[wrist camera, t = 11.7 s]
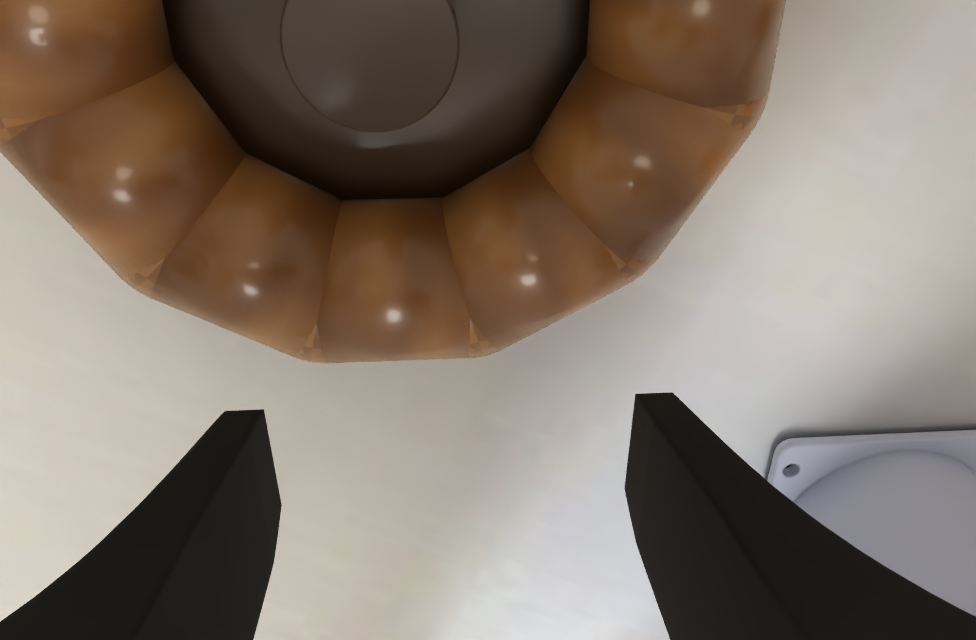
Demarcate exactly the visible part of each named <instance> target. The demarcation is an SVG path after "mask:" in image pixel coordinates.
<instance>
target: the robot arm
mask: <svg viewBox="0 0 976 640" xmlns="http://www.w3.org/2000/svg"><path fill="white" fill-rule="evenodd" d="M790 464H793V465H792V466H790V467H789V468H785V467H786V466H788V465H790ZM784 468H785V469H784ZM625 492H626V497H627V502H628V507H629V512H630V517H631V521H632V526H633V530H634V534H635V539H636V543H637V546H638V549H639V552H640V555H641V558H642V561H643V564H644V567H645V569H646V572H647V575H648V578H649V581H650V584H651V587H652V589H653V592H654V595H655V598H656V601H657V603H658V606H659V609H660V612H661V615H662V617H663V620H664V623H665V626H666V629H667V631H668V634H669V637H670V640H976V430H958V431H936V432H914V433H892V434H870V435H849V436H827V437H805V438H791V439H786V440H784V441H782V442H781V443H780V444H779V445H778V446H777V447H776V449H775V451H774V454H773V459H772V463H771V467H770V471H769V475H768V480H766V479H764V478H763V477H762V476H761V475H760V474H759V473H757V472H756V471H755V470H754V469H753V468H752V467H751V466H749V465H748V464H747V463H746V462H745V461H744V460H743V459H742V458H741V457H739V456H738V455H737V454H736V453H735V452H734V451H733V450H732V449H731V448H730V447H729V446H727V445H726V444H725V443H724V442H723V441H722V440H721V439H720V438H719V437H718V436H717V435H716V434H715V433H714V432H713V431H712V430H711V429H710V428H709V427H708V426H707V425H705V424H704V423H703V422H702V421H701V420H700V419H699V418H698V417H697V416H696V415H695V414H694V413H693V412H692V411H691V410H690V409H689V408H688V407H687V406H686V405H685V404H684V403H683V402H682V401H681V400H680V399H679V398H678V397H677V396H676V395H674V394H673V393H649V394H636V395H635V404H634V412H633V421H632V430H631V438H630V447H629V455H628V464H627V473H626V481H625ZM280 512H281V500H280V495H279V489H278V484H277V479H276V473H275V468H274V462H273V457H272V451H271V446H270V441H269V435H268V430H267V424H266V419H265V414H264V410H241V411H225V412H224V413H223V414H222V415H221V416H220V417H219V418H218V419H217V420H216V421H215V422H214V423H213V424H212V426H211V427H210V428H209V429H208V430H207V431H206V432H205V433H204V435H203V436H202V437H201V438H200V439H199V440H198V441H197V442H196V444H195V445H194V446H193V447H192V448H191V449H190V450H189V451H188V453H187V454H186V455H185V456H184V457H183V458H182V459H181V460H180V461H179V463H178V464H177V465H176V466H175V467H174V468H173V469H172V470H171V471H170V472H169V473H168V475H167V476H166V477H165V478H164V479H163V480H162V481H161V482H160V483H159V484H158V485H157V486H156V487H155V488H154V489H153V490H152V491H151V493H150V494H149V495H148V496H147V497H146V498H145V499H144V500H143V501H142V502H141V503H140V504H139V505H138V506H137V507H136V508H135V509H134V510H133V511H132V512H131V513H130V514H129V515H128V516H127V517H126V518H125V519H124V520H123V521H122V522H121V523H120V524H119V525H117V526H116V527H115V528H114V529H113V530H112V531H111V532H110V533H109V534H108V535H107V536H106V537H105V538H104V539H103V540H102V541H101V542H100V543H99V544H98V545H97V546H95V547H94V548H93V549H92V550H91V551H90V552H89V553H88V554H86V555H85V556H84V557H83V558H82V559H81V560H80V561H78V562H77V563H76V564H75V565H74V566H72V567H71V568H70V569H69V570H68V571H66V572H65V573H64V574H63V575H61V576H60V577H59V578H58V579H57V580H55V581H54V582H53V583H52V584H50V585H49V586H48V587H47V588H45V589H44V590H43V591H42V592H40V593H39V594H38V595H36V596H35V597H34V598H33V599H31V600H30V601H28V602H27V603H26V604H24V605H23V606H22V607H20V608H19V609H17V610H16V611H15V612H13V613H12V614H10V615H9V616H8V617H6V618H5V619H3V620H2V621H1V622H0V640H253V638H254V635H255V631H256V627H257V624H258V620H259V616H260V613H261V609H262V605H263V601H264V598H265V594H266V590H267V586H268V582H269V579H270V575H271V571H272V567H273V563H274V557H275V550H276V543H277V536H278V528H279V520H280Z"/></svg>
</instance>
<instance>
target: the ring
mask: <svg viewBox="0 0 976 640" xmlns="http://www.w3.org/2000/svg"><path fill="white" fill-rule="evenodd" d="M785 2H786V0H590V8H589V24H588V40H587V55H586V57H585V59H584V60H583V62H582V64H581V65H580V67H579V69H578V70H577V72H576V73H575V75H574V77H573V78H572V80H571V82H570V83H569V85H568V87H567V88H566V90H565V91H564V93H563V95H562V96H561V98H560V100H559V101H558V103H557V105H556V106H555V108H554V109H553V111H552V113H551V114H550V116H549V118H548V119H547V121H546V123H545V124H544V126H543V127H542V129H541V131H540V132H539V134H538V136H537V137H536V139H535V141H534V142H533V144H532V145H531V147H530V148H528V149H527V150H525V151H523V152H522V153H520V154H518V155H516V156H515V157H513V158H511V159H509V160H508V161H506V162H504V163H502V164H501V165H499V166H497V167H496V168H494V169H492V170H490V171H489V172H487V173H485V174H483V175H482V176H480V177H478V178H476V179H475V180H473V181H471V182H470V183H468V184H466V185H464V186H463V187H461V188H459V189H457V190H456V191H454V192H452V193H450V194H449V195H447V196H445V197H440V198H399V199H358V200H342V199H340V198H338V197H336V196H334V195H332V194H329V193H327V192H325V191H323V190H321V189H319V188H317V187H315V186H313V185H311V184H309V183H307V182H305V181H303V180H301V179H299V178H297V177H295V176H293V175H290V174H288V173H286V172H284V171H282V170H280V169H278V168H276V167H274V166H272V165H270V164H268V163H266V162H264V161H262V160H260V159H258V158H256V157H254V156H251V155H249V154H247V153H246V152H245V151H244V150H243V149H242V147H241V146H240V145H239V143H238V142H237V141H236V139H235V138H234V137H233V136H232V134H231V133H230V132H229V130H228V129H227V128H226V127H225V125H224V124H223V123H222V121H221V120H220V119H219V118H218V116H217V115H216V114H215V112H214V111H213V110H212V109H211V107H210V106H209V105H208V103H207V102H206V101H205V100H204V98H203V97H202V96H201V94H200V93H199V92H198V91H197V89H196V88H195V87H194V85H193V84H192V83H191V82H190V80H189V79H188V78H187V76H186V75H185V74H184V73H183V71H182V70H181V69H180V67H179V66H178V65H177V64H176V62H175V61H174V58H173V53H172V48H171V43H170V38H169V33H168V28H167V23H166V18H165V13H164V8H163V3H162V0H0V152H1V153H2V154H3V155H4V156H5V157H6V158H7V159H8V160H9V161H10V163H11V164H12V165H13V166H14V167H15V168H16V169H17V170H18V171H19V172H20V173H21V174H22V175H23V176H24V177H25V178H26V179H27V180H28V181H29V182H30V183H31V185H32V186H33V187H34V188H35V189H36V190H37V191H38V192H39V193H40V194H41V195H42V196H43V197H44V198H45V199H46V200H47V201H48V202H49V203H50V204H51V205H52V207H53V208H54V209H55V210H56V211H57V212H58V213H59V214H60V215H61V216H62V217H63V218H64V219H65V220H66V221H67V222H68V223H69V224H70V225H71V226H72V228H73V229H74V230H75V231H76V232H77V233H78V234H79V235H80V236H81V237H82V238H83V239H84V240H85V241H86V242H87V243H88V244H89V245H90V246H91V247H92V248H93V250H94V251H95V252H96V253H97V254H98V255H99V256H100V257H101V258H102V259H103V260H104V261H105V262H106V263H107V264H108V265H109V266H110V267H111V268H112V269H113V270H114V272H115V273H116V274H117V275H118V276H119V277H120V278H121V279H122V280H124V281H125V282H126V283H127V284H129V285H130V286H131V287H132V288H134V289H135V290H136V291H138V292H140V293H142V294H144V295H146V296H148V297H150V298H152V299H154V300H157V301H159V302H162V303H164V304H167V305H169V306H171V307H174V308H176V309H179V310H181V311H184V312H186V313H188V314H191V315H193V316H196V317H198V318H201V319H203V320H205V321H208V322H210V323H213V324H215V325H218V326H220V327H222V328H225V329H227V330H230V331H232V332H235V333H237V334H239V335H242V336H244V337H247V338H249V339H252V340H254V341H256V342H259V343H261V344H264V345H266V346H268V347H271V348H273V349H276V350H278V351H281V352H283V353H285V354H288V355H290V356H293V357H295V358H298V359H302V360H305V361H309V362H317V363H344V362H372V361H399V360H427V359H454V358H475V357H481V356H486V355H490V354H492V353H495V352H498V351H500V350H502V349H504V348H506V347H508V346H510V345H512V344H514V343H516V342H518V341H520V340H522V339H523V338H525V337H527V336H529V335H531V334H533V333H535V332H537V331H539V330H541V329H543V328H545V327H547V326H548V325H550V324H552V323H554V322H556V321H558V320H560V319H562V318H564V317H566V316H568V315H570V314H572V313H573V312H575V311H577V310H579V309H581V308H583V307H585V306H587V305H589V304H591V303H593V302H595V301H596V300H598V299H600V298H602V297H604V296H606V295H608V294H610V293H612V292H614V291H616V290H618V289H620V288H621V287H623V286H625V285H627V284H629V283H631V282H633V281H634V280H635V279H637V278H638V277H640V276H641V275H643V274H644V273H645V272H646V271H647V270H648V269H649V268H650V267H651V266H652V265H653V264H654V263H655V261H656V260H657V259H658V258H659V256H660V255H661V254H662V252H663V251H664V250H665V248H666V247H667V246H668V244H669V243H670V242H671V240H672V239H673V238H674V236H675V235H676V233H677V232H678V231H679V229H680V228H681V227H682V225H683V224H684V223H685V221H686V220H687V219H688V217H689V216H690V215H691V213H692V212H693V211H694V209H695V208H696V206H697V205H698V204H699V202H700V201H701V200H702V198H703V197H704V196H705V194H706V193H707V192H708V190H709V189H710V188H711V186H712V185H713V184H714V182H715V181H716V179H717V178H718V177H719V175H720V174H721V173H722V171H723V170H724V169H725V167H726V166H727V165H728V163H729V162H730V161H731V159H732V158H733V157H734V155H735V154H736V152H737V151H738V150H739V148H740V147H741V146H742V144H743V143H744V142H745V140H746V139H747V138H748V136H749V135H750V134H751V132H752V130H753V129H754V127H755V125H756V123H757V122H758V120H759V118H760V117H761V114H762V112H763V110H764V107H765V104H766V101H767V98H768V93H769V90H770V84H771V79H772V73H773V68H774V62H775V57H776V51H777V46H778V40H779V35H780V29H781V24H782V18H783V13H784V7H785Z"/></svg>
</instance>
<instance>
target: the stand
mask: <svg viewBox="0 0 976 640" xmlns="http://www.w3.org/2000/svg"><path fill="white" fill-rule="evenodd" d="M162 3H163V8H164V13H165V18H166V23H167V28H168V33H169V38H170V43H171V48H172V53H173V58H174V61H175V62H176V64H177V65H178V66H179V67H180V69H181V70H182V71H183V73H184V74H185V75H186V76H187V78H188V79H189V80H190V82H191V83H192V84H193V85H194V87H195V88H196V89H197V91H198V92H199V93H200V94H201V96H202V97H203V98H204V100H205V101H206V102H207V103H208V105H209V106H210V107H211V109H212V110H213V111H214V112H215V114H216V115H217V116H218V118H219V119H220V120H221V121H222V123H223V124H224V125H225V127H226V128H227V129H228V130H229V132H230V133H231V134H232V136H233V137H234V138H235V139H236V141H237V142H238V143H239V145H240V146H241V147H242V149H243V150H244V151H245V152H246V153H247V154H249V155H251V156H254V157H256V158H258V159H260V160H262V161H264V162H266V163H268V164H270V165H272V166H274V167H276V168H278V169H280V170H282V171H284V172H286V173H288V174H290V175H293V176H295V177H297V178H299V179H301V180H303V181H305V182H307V183H309V184H311V185H313V186H315V187H317V188H319V189H321V190H323V191H325V192H327V193H329V194H332V195H334V196H336V197H338V198H340V199H342V200H358V199H399V198H440V197H445V196H447V195H449V194H450V193H452V192H454V191H456V190H457V189H459V188H461V187H463V186H464V185H466V184H468V183H470V182H471V181H473V180H475V179H476V178H478V177H480V176H482V175H483V174H485V173H487V172H489V171H490V170H492V169H494V168H496V167H497V166H499V165H501V164H502V163H504V162H506V161H508V160H509V159H511V158H513V157H515V156H516V155H518V154H520V153H522V152H523V151H525V150H527V149H528V148H530V147H531V145H532V144H533V142H534V141H535V139H536V137H537V136H538V134H539V132H540V131H541V129H542V127H543V126H544V124H545V123H546V121H547V119H548V118H549V116H550V114H551V113H552V111H553V109H554V108H555V106H556V105H557V103H558V101H559V100H560V98H561V96H562V95H563V93H564V91H565V90H566V88H567V87H568V85H569V83H570V82H571V80H572V78H573V77H574V75H575V73H576V72H577V70H578V69H579V67H580V65H581V64H582V62H583V60H584V59H585V57H586V55H587V40H588V24H589V8H590V0H162Z"/></svg>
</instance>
